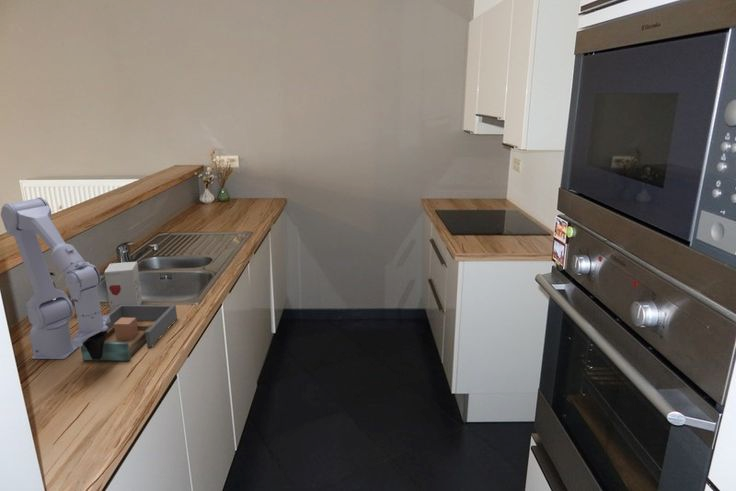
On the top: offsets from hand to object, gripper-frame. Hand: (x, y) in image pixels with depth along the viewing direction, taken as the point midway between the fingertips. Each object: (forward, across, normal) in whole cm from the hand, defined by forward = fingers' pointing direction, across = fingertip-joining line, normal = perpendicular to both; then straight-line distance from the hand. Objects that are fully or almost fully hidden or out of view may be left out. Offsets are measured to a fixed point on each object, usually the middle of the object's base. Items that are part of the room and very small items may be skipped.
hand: (97, 358), depth 140 cm
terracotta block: (+2, +16, 0) cm, 16 cm away
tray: (+3, +12, 0) cm, 12 cm away
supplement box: (+3, +40, +12) cm, 42 cm away
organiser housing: (+3, +21, 0) cm, 21 cm away
